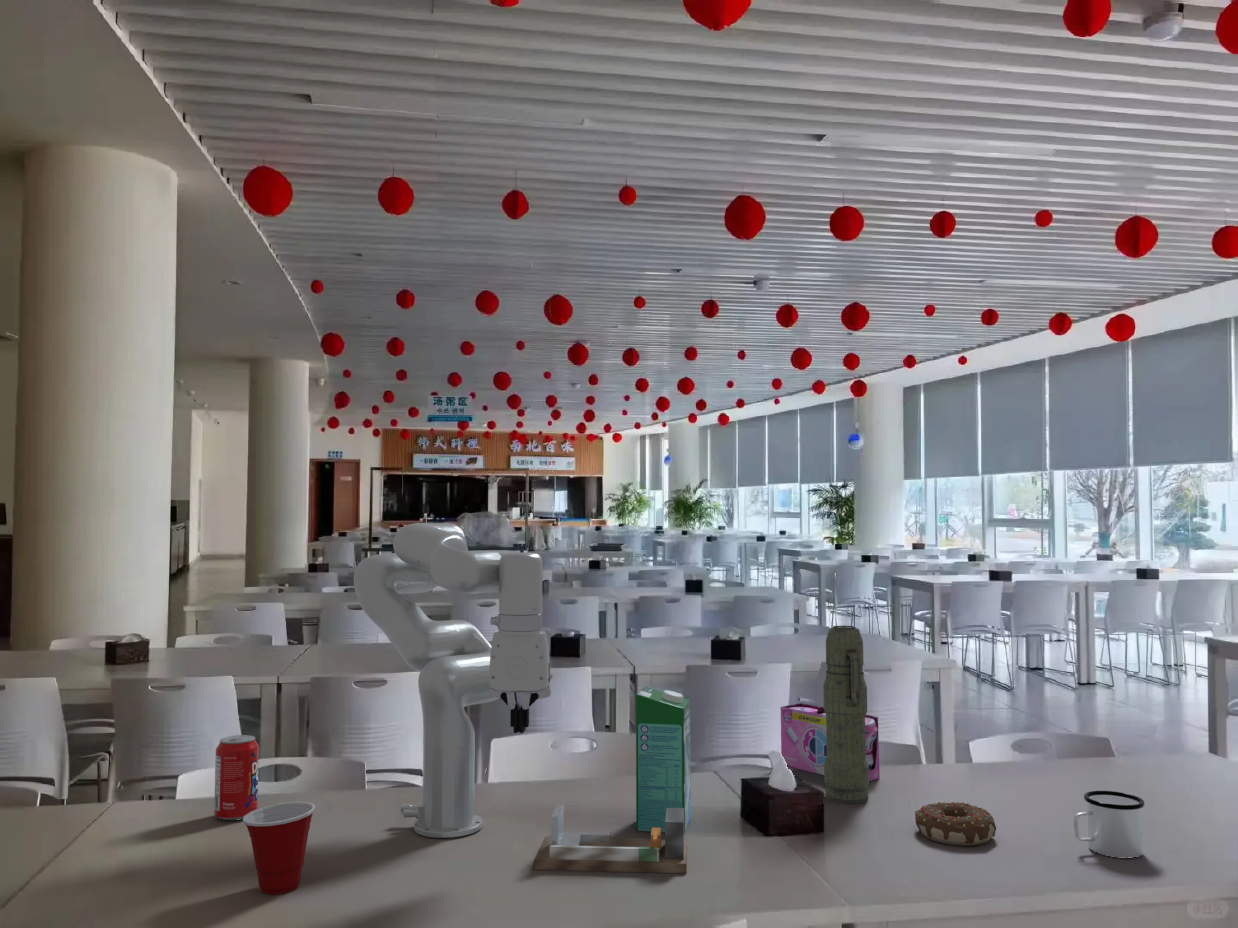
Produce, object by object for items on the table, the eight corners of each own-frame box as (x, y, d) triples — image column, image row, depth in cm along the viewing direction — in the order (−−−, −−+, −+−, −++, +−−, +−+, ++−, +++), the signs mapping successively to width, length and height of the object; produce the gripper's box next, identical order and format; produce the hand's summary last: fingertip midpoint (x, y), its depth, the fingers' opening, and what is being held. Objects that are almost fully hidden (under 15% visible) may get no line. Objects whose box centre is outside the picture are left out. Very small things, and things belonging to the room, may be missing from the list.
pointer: (650, 856, 159) (650, 838, 159) (652, 841, 166) (652, 825, 166) (659, 856, 159) (659, 839, 159) (661, 842, 166) (661, 825, 166)
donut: (1007, 836, 176) (1006, 808, 177) (977, 855, 166) (976, 825, 167) (932, 819, 186) (932, 793, 186) (899, 837, 176) (899, 808, 176)
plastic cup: (252, 876, 157) (253, 800, 157) (321, 874, 157) (322, 798, 158) (231, 902, 146) (233, 821, 146) (305, 900, 147) (306, 819, 147)
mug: (1123, 841, 173) (1122, 789, 173) (1159, 859, 164) (1157, 804, 164) (1060, 843, 172) (1058, 791, 172) (1092, 862, 162) (1090, 807, 163)
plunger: (550, 853, 162) (551, 816, 162) (557, 839, 169) (557, 804, 169) (608, 854, 161) (608, 817, 161) (612, 840, 168) (611, 805, 168)
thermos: (851, 788, 207) (849, 623, 210) (880, 803, 196) (877, 629, 198) (814, 791, 205) (811, 624, 207) (840, 807, 194) (838, 630, 196)
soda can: (204, 820, 186) (206, 740, 187) (235, 808, 193) (236, 732, 194) (236, 824, 183) (238, 744, 184) (266, 813, 190) (267, 735, 191)
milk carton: (684, 834, 177) (683, 695, 179) (636, 831, 179) (635, 693, 181) (690, 819, 186) (690, 687, 188) (644, 816, 188) (644, 685, 189)
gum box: (886, 780, 214) (885, 717, 215) (864, 786, 209) (863, 722, 210) (801, 759, 233) (801, 702, 234) (779, 765, 228) (779, 706, 229)
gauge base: (533, 869, 159) (534, 822, 160) (545, 845, 171) (545, 801, 172) (686, 873, 157) (686, 826, 158) (687, 848, 169) (686, 804, 170)
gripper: (473, 626, 165) (471, 735, 164) (560, 627, 164) (559, 737, 163) (482, 621, 172) (481, 726, 171) (566, 622, 171) (565, 727, 170)
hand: (519, 731), depth 167 cm, fingers closed
